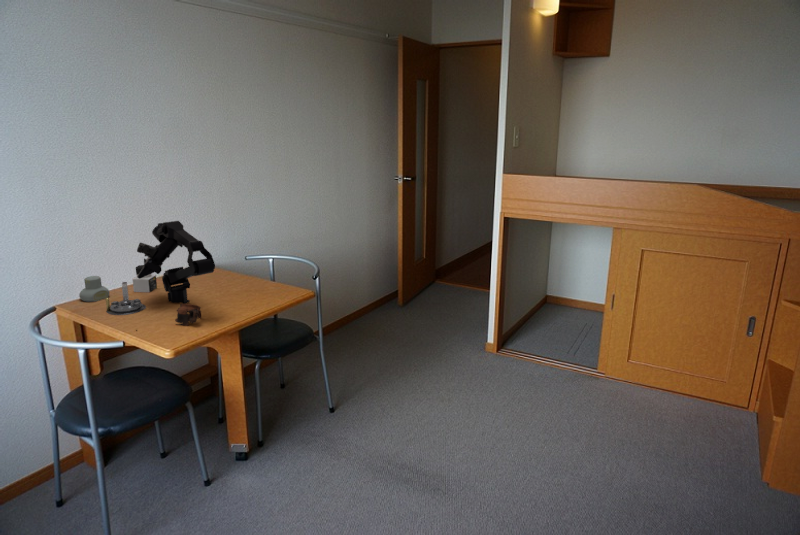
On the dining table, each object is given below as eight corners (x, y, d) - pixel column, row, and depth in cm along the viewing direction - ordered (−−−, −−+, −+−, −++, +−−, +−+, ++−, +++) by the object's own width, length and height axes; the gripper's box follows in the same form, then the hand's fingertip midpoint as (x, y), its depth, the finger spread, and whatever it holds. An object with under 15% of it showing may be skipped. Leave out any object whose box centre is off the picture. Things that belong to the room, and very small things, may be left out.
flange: (153, 306, 224) (151, 292, 223) (133, 319, 211) (132, 303, 209) (119, 305, 226) (117, 290, 224) (97, 317, 212) (95, 301, 210)
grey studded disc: (141, 310, 215) (139, 290, 213) (110, 314, 211) (107, 294, 209) (141, 299, 228) (139, 280, 226) (111, 302, 223) (109, 283, 221)
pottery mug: (168, 324, 207) (173, 303, 210) (191, 329, 214) (195, 308, 217) (185, 324, 200) (190, 301, 202) (208, 329, 207) (213, 307, 209)
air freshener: (101, 295, 237) (98, 273, 234) (113, 299, 233) (111, 276, 230) (76, 302, 227) (73, 279, 225) (89, 306, 224) (85, 282, 221)
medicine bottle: (150, 294, 239) (147, 268, 236) (133, 294, 239) (130, 267, 236) (157, 289, 246) (155, 263, 242) (141, 289, 246) (138, 263, 243)
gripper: (148, 231, 228) (121, 259, 226) (148, 240, 211) (120, 271, 210) (170, 248, 233) (144, 276, 232) (173, 258, 217) (145, 288, 215)
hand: (138, 277), depth 222 cm, fingers closed
